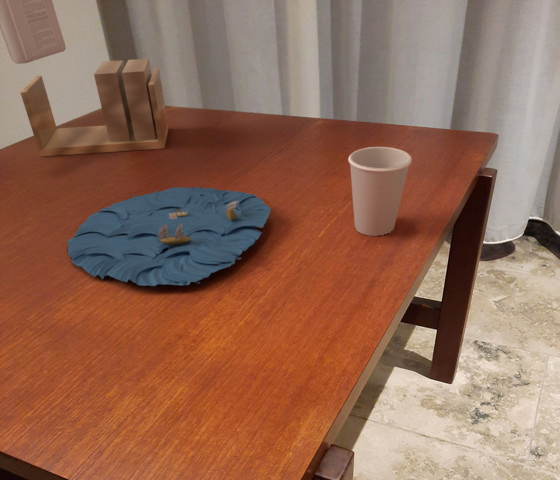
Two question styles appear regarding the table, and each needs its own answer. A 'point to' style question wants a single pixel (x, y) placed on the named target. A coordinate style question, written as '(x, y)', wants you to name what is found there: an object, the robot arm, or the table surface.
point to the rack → (105, 113)
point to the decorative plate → (169, 235)
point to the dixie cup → (377, 187)
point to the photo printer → (30, 29)
